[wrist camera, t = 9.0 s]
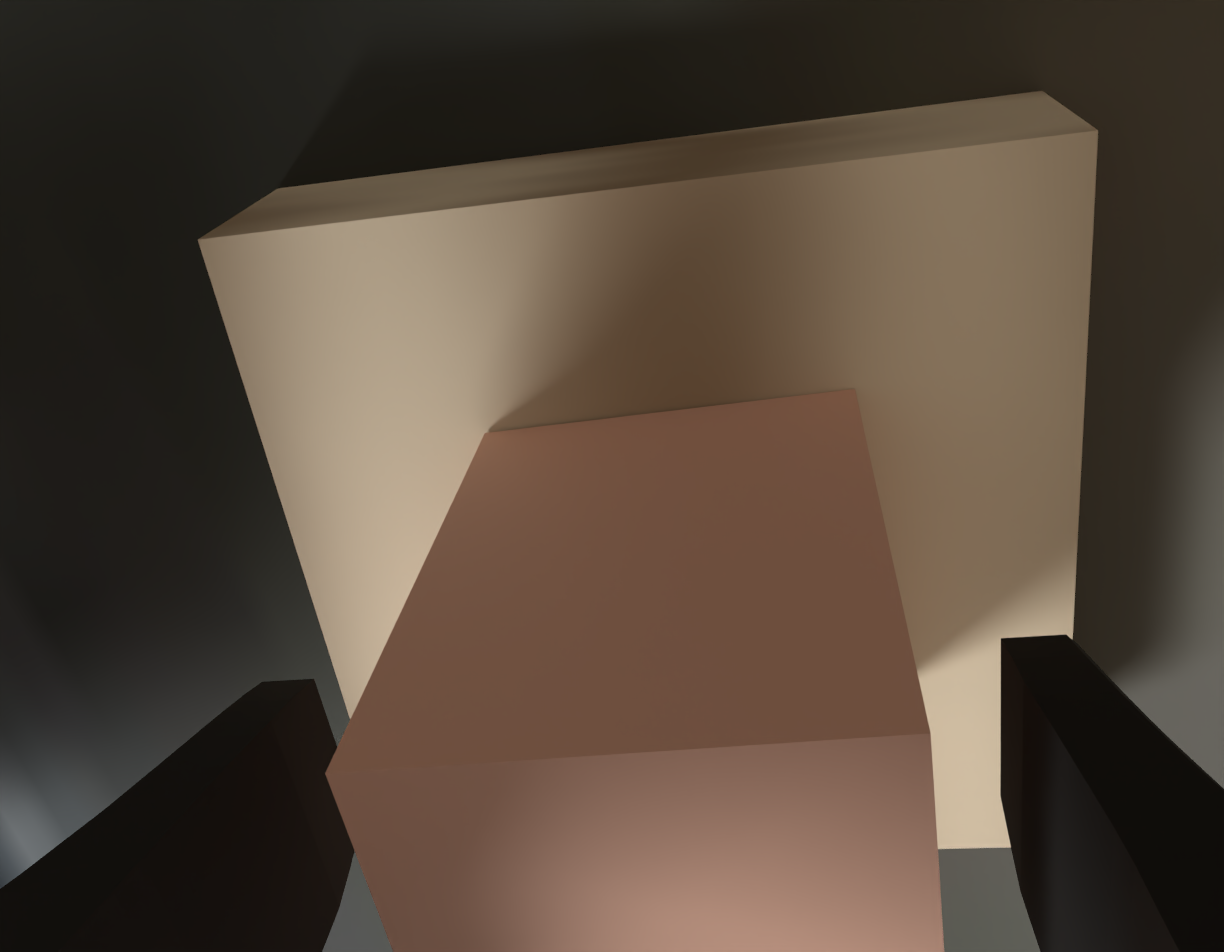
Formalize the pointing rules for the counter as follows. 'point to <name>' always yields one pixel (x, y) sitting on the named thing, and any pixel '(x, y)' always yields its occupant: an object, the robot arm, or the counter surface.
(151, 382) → the counter surface
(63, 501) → the counter surface
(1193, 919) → the robot arm
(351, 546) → the oak block
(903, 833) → the pinkish brown block
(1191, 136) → the counter surface
